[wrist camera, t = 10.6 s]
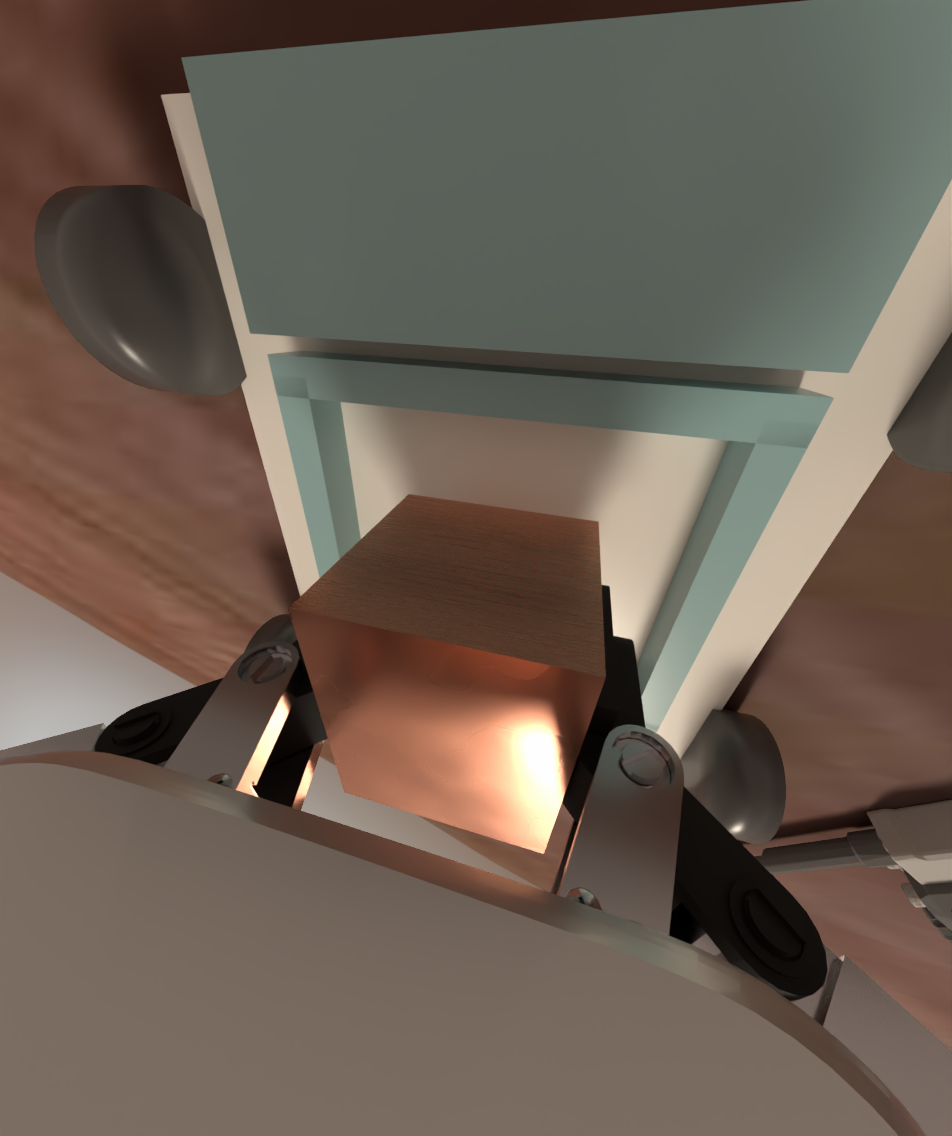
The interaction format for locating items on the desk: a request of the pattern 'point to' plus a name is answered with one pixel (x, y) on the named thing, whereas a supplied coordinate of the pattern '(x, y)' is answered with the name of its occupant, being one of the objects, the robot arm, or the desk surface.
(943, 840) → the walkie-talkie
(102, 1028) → the robot arm
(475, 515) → the orange-brown block
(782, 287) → the chassis
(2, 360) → the desk surface
